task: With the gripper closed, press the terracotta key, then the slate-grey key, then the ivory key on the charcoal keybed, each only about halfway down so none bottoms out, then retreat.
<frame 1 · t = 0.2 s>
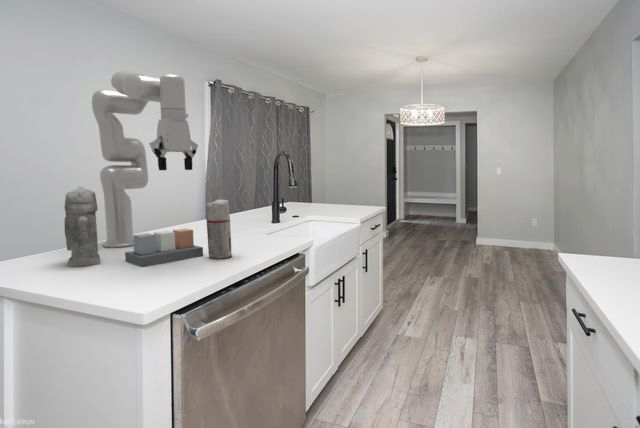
hand: (176, 170, 136), 30 cm above the table, fingers open, 9 cm apart
spray can: (220, 257, 147), on the table
ivory key: (164, 241, 144), point 6 cm above the table, slide at 0.0 cm
figurine: (84, 263, 139), on the table
slate key: (144, 244, 139), point 6 cm above the table, slide at 0.0 cm
keybed: (165, 258, 145), on the table
terracotta key: (183, 238, 149), point 6 cm above the table, slide at 0.0 cm
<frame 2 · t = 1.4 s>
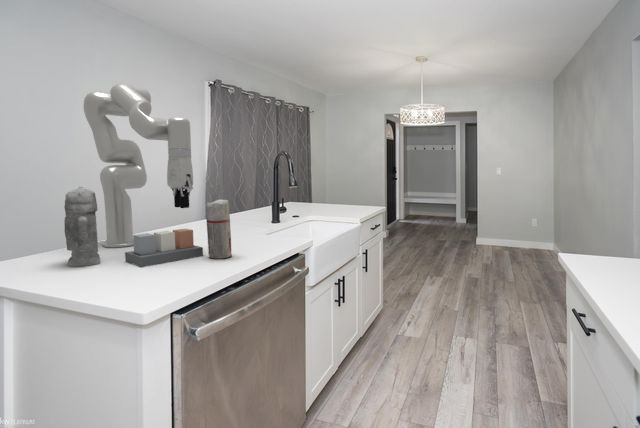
hand: (181, 206, 148), 17 cm above the table, fingers open, 3 cm apart
nothing on the table moved.
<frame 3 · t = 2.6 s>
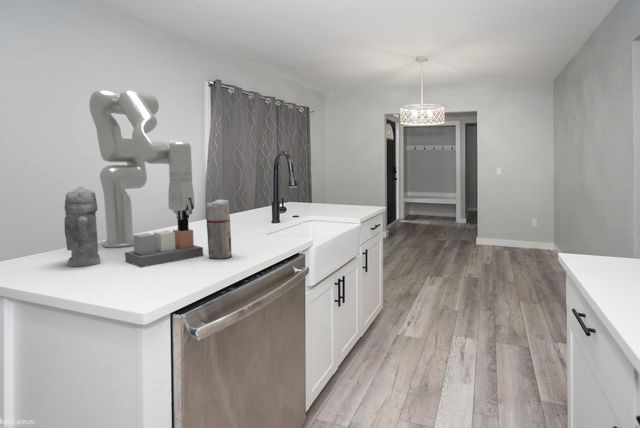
hand: (183, 230, 149), 9 cm above the table, fingers closed
terracotta key: (183, 238, 149), point 6 cm above the table, slide at 0.1 cm, touching gripper
everything else where it was.
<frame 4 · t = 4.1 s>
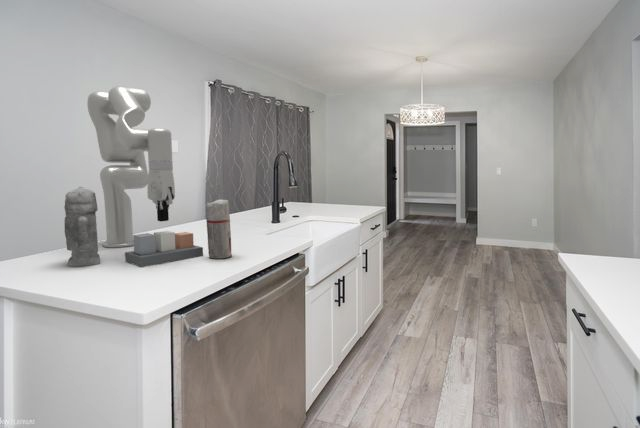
hand: (163, 220, 143), 13 cm above the table, fingers closed
terracotta key: (183, 241, 149), point 5 cm above the table, slide at 1.3 cm
everything else where it was.
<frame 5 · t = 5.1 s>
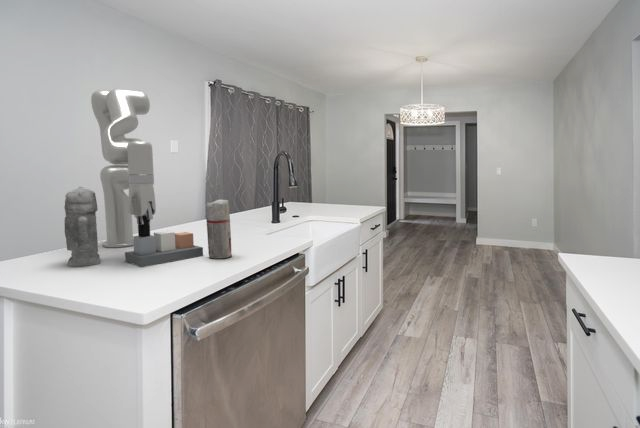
hand: (144, 236, 138), 9 cm above the table, fingers closed
slate key: (144, 245, 139), point 6 cm above the table, slide at 0.4 cm, touching gripper
everything else where it was.
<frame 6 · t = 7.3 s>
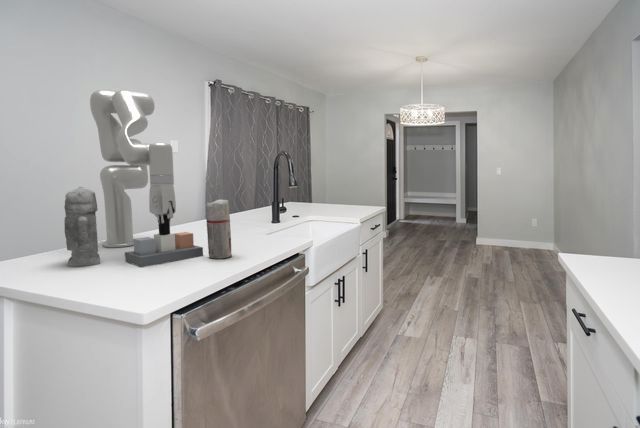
hand: (164, 234, 144), 8 cm above the table, fingers closed
ivory key: (164, 243, 144), point 5 cm above the table, slide at 0.7 cm, touching gripper
slate key: (144, 247, 139), point 5 cm above the table, slide at 1.3 cm
everything else where it was.
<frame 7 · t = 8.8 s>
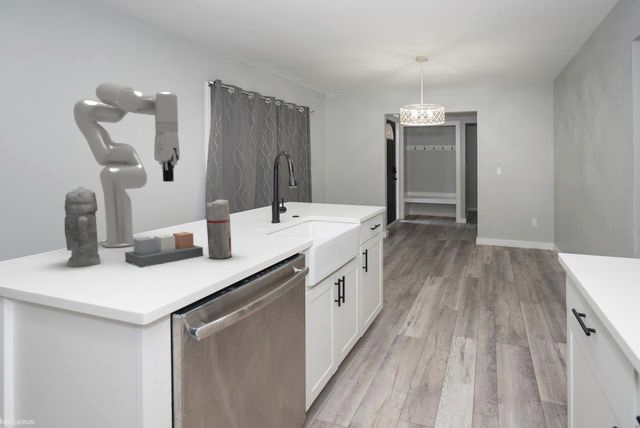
hand: (168, 181, 150), 26 cm above the table, fingers closed
ivory key: (164, 244, 144), point 5 cm above the table, slide at 1.3 cm
everything else where it was.
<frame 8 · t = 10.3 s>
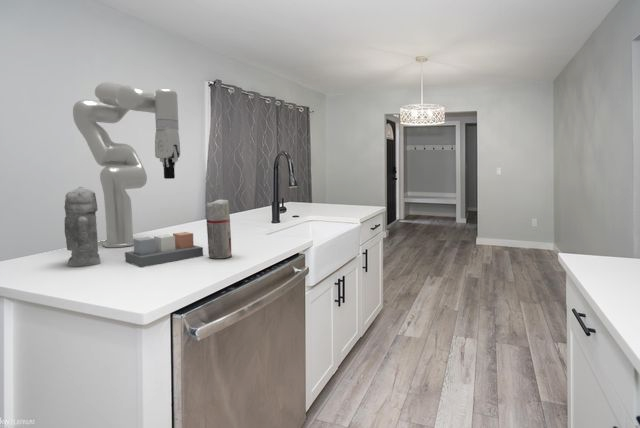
hand: (169, 178, 150), 27 cm above the table, fingers closed
nothing on the table moved.
at the end: terracotta key slide at 1.3 cm; slate key slide at 1.3 cm; ivory key slide at 1.3 cm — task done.
